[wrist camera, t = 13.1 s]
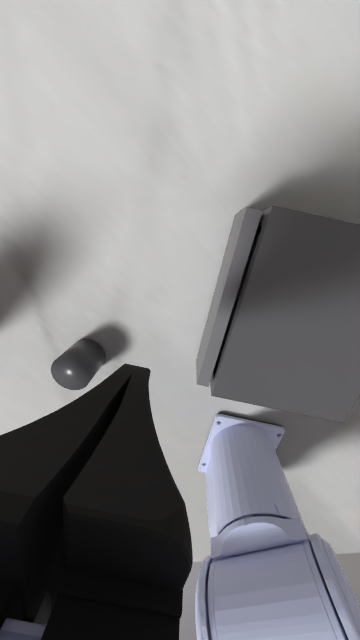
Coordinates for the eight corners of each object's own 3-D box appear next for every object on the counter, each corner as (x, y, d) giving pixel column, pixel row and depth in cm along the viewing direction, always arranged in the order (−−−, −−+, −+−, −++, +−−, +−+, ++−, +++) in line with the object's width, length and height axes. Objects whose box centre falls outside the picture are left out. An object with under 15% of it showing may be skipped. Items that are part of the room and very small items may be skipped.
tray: (196, 360, 21) (196, 384, 18) (235, 214, 17) (246, 206, 13) (299, 381, 22) (321, 410, 18) (368, 243, 17) (416, 244, 13)
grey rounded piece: (104, 371, 23) (89, 393, 20) (71, 365, 23) (51, 385, 20) (106, 343, 22) (91, 361, 18) (72, 336, 22) (50, 352, 18)
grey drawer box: (207, 362, 22) (211, 395, 17) (250, 215, 17) (272, 205, 12) (310, 384, 22) (342, 422, 17) (382, 245, 17) (455, 246, 12)
